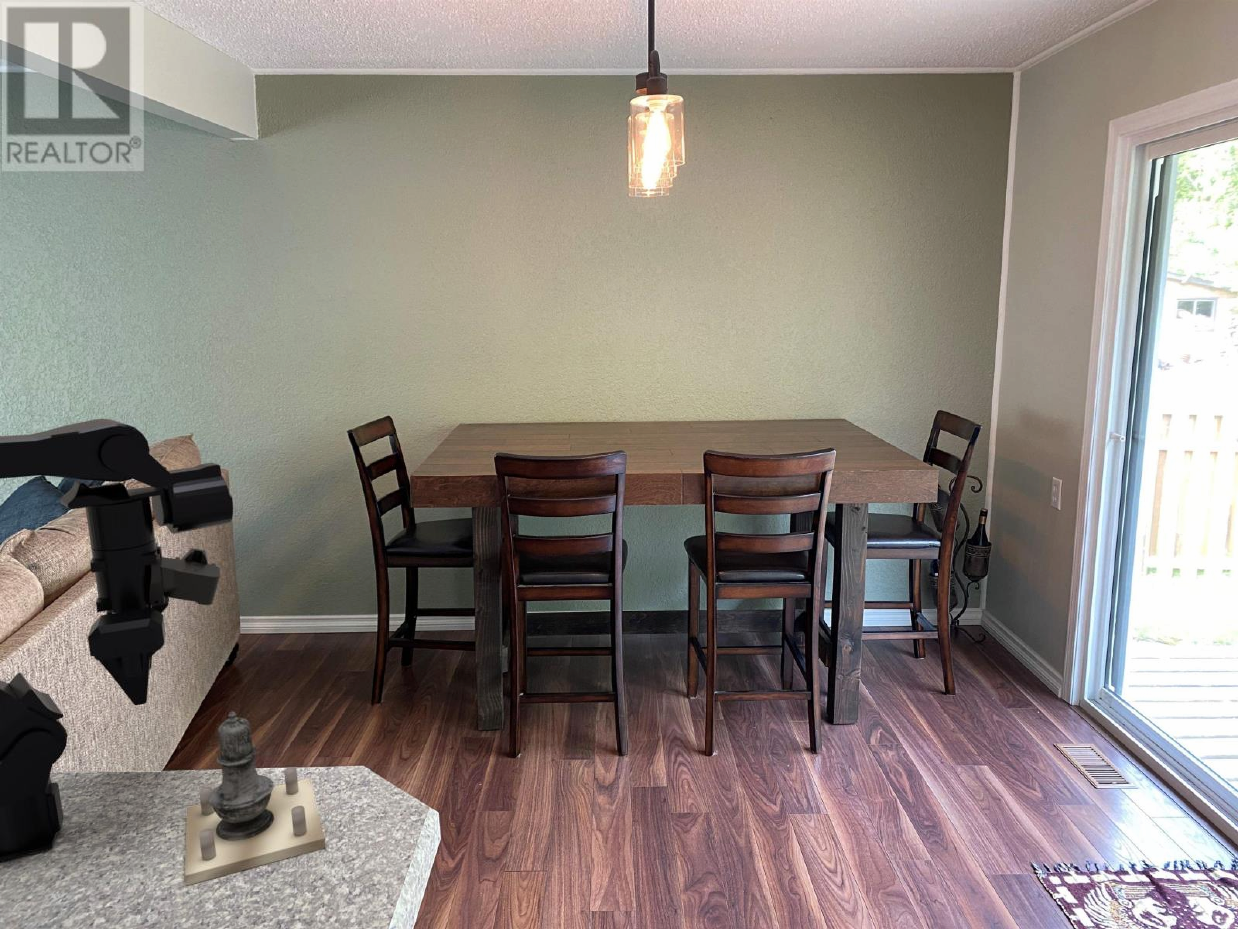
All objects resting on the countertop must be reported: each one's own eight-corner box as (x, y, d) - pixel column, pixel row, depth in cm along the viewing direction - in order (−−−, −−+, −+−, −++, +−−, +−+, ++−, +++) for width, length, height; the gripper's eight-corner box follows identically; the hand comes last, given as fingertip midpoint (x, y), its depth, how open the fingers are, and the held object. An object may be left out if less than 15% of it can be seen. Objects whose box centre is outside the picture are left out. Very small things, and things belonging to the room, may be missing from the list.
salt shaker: (254, 845, 83) (240, 727, 81) (199, 839, 84) (184, 723, 82) (289, 809, 89) (277, 699, 86) (236, 804, 90) (223, 695, 87)
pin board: (186, 885, 79) (181, 850, 78) (187, 816, 90) (183, 785, 89) (325, 847, 84) (322, 814, 83) (311, 786, 95) (308, 756, 94)
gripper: (211, 554, 84) (229, 706, 87) (209, 513, 101) (224, 641, 104) (76, 572, 80) (100, 731, 83) (98, 526, 96) (117, 660, 99)
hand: (143, 686), depth 92 cm, fingers open, 9 cm apart
